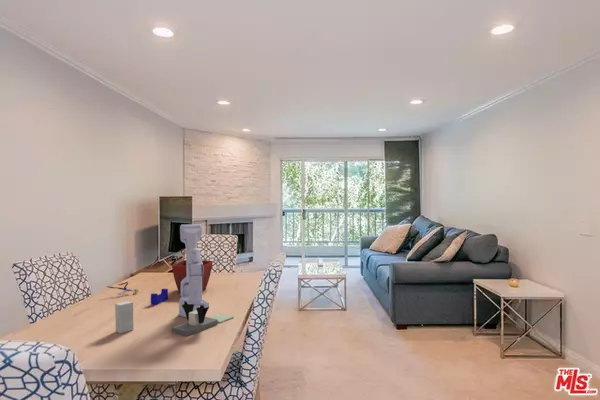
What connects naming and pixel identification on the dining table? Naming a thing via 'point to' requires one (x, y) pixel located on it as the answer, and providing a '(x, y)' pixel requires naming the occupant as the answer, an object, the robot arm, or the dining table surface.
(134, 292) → the figurine
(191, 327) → the gray square hole board
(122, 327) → the skincare box
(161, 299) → the cable clip
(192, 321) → the plug
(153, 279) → the dining table surface
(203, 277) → the plant pot
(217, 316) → the mat
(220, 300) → the dining table surface
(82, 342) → the dining table surface
